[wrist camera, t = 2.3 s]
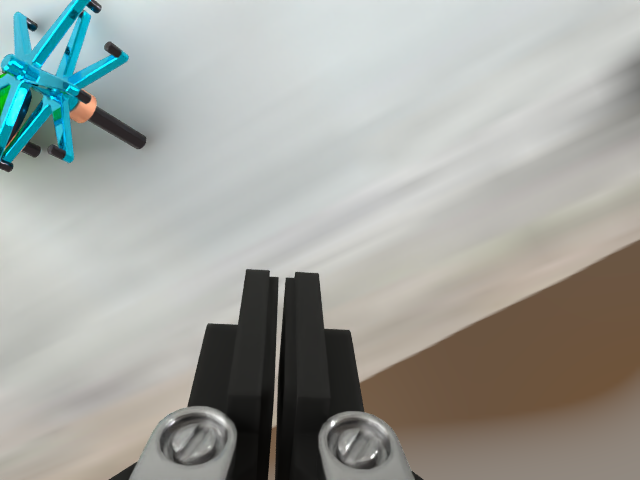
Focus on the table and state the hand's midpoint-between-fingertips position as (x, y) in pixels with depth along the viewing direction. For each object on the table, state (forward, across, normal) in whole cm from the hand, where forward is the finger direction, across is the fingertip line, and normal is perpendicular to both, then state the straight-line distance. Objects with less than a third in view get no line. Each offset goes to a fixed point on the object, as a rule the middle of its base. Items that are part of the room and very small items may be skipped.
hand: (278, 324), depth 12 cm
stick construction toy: (+16, +11, 0) cm, 20 cm away
